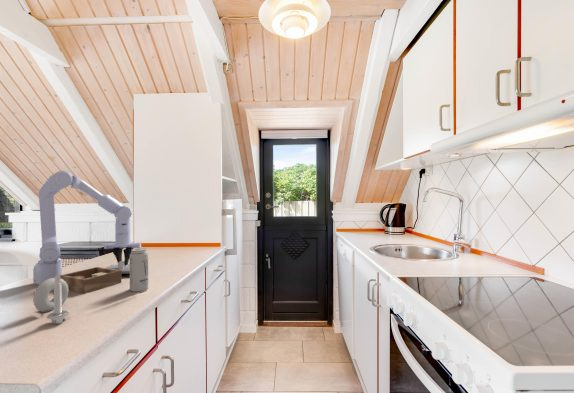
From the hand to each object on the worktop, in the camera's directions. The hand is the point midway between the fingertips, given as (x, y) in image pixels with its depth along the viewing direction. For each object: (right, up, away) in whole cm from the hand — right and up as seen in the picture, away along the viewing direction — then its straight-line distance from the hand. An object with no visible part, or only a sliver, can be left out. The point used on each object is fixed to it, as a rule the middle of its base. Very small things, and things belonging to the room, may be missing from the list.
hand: (123, 264), depth 133 cm
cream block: (0, -3, -16) cm, 16 cm away
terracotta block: (-6, -4, -21) cm, 22 cm away
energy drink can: (+18, -5, -23) cm, 30 cm away
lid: (0, -2, -1) cm, 2 cm away
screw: (+9, -5, -50) cm, 51 cm away
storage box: (-2, -4, -19) cm, 19 cm away
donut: (+1, -5, -42) cm, 42 cm away
